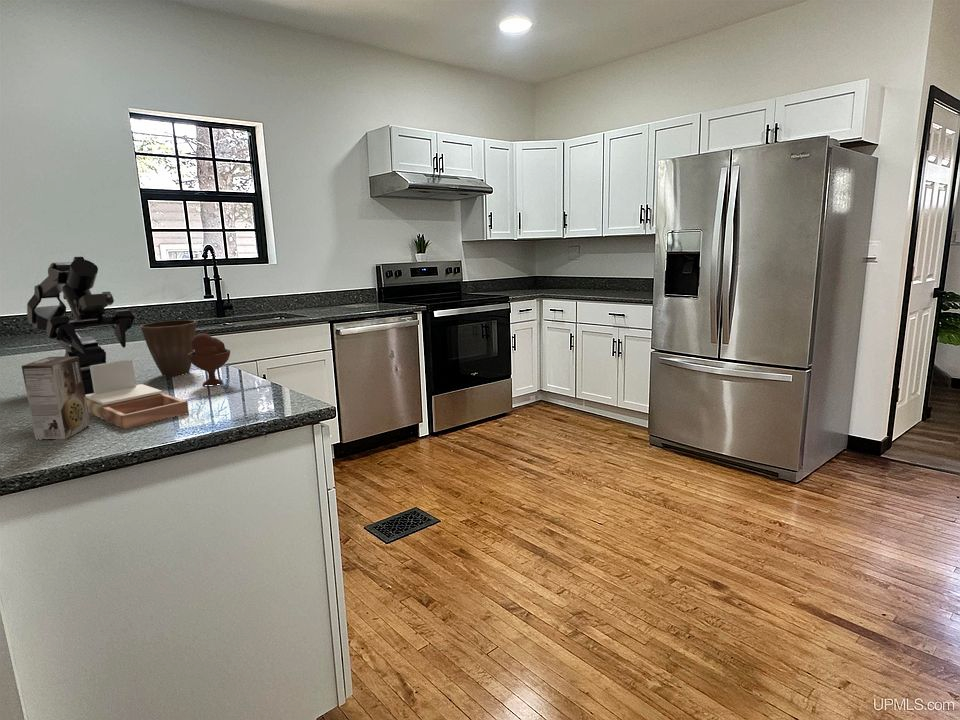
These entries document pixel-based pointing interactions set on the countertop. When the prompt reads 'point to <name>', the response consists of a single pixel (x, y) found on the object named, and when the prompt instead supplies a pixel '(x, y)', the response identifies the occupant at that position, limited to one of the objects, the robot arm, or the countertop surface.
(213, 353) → the ice cream bowl
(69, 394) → the coffee box
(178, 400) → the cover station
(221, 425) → the countertop surface
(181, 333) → the plant pot
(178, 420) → the countertop surface
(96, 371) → the white l-shaped piece
